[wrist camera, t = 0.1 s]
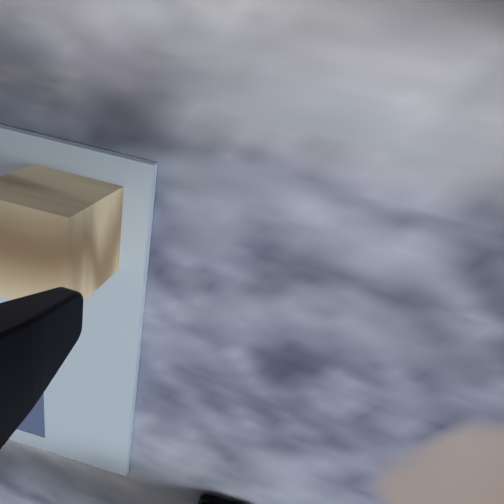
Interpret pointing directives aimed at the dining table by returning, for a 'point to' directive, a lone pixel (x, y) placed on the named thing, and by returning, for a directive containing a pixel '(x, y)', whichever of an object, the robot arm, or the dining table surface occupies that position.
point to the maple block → (57, 231)
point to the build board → (94, 314)
